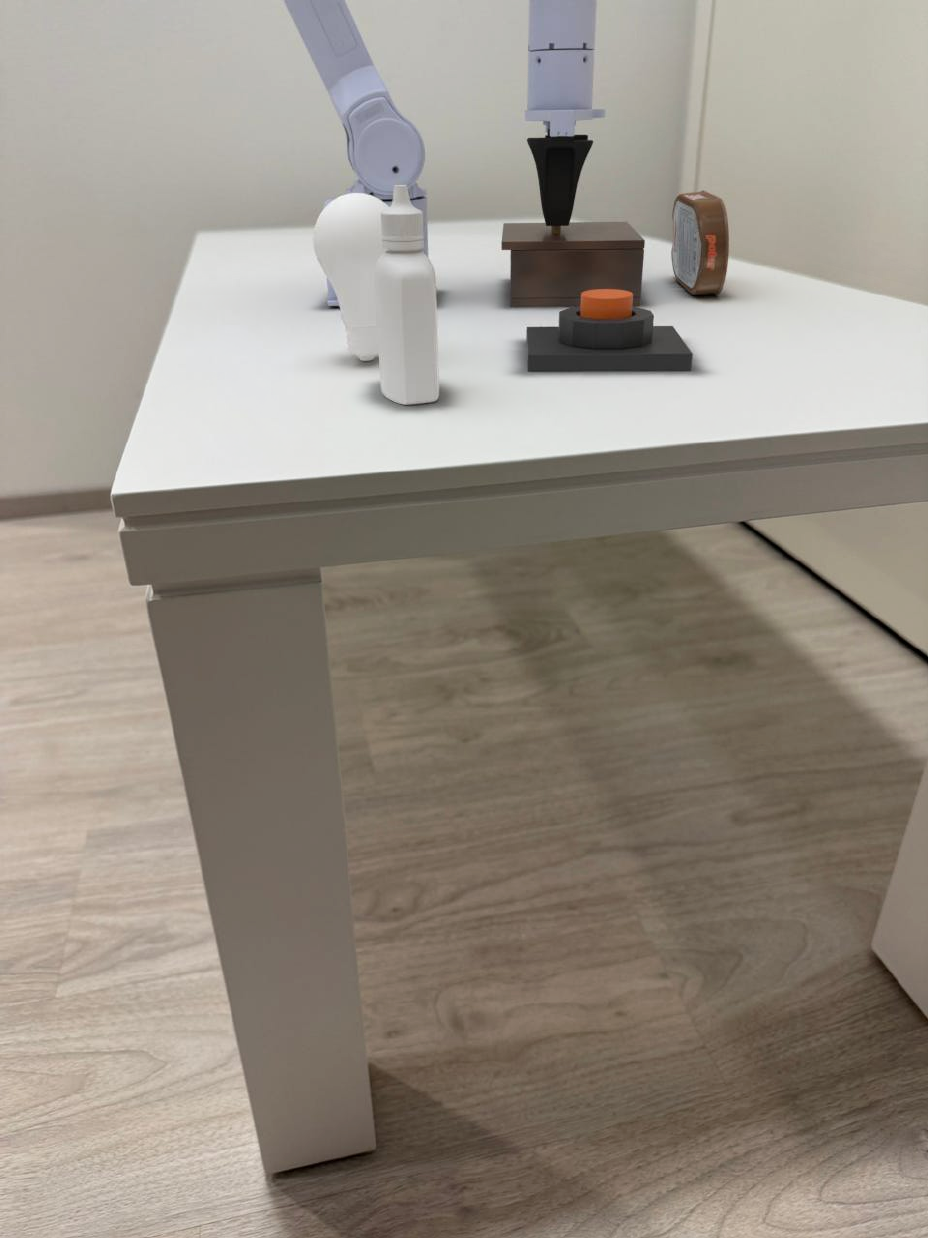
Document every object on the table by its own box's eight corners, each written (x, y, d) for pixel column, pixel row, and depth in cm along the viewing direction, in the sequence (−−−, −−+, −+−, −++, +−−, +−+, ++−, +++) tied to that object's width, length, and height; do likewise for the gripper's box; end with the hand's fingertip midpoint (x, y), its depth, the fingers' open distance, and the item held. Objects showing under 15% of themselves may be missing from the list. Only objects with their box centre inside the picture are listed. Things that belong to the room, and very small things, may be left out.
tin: (726, 301, 84) (738, 200, 80) (691, 302, 84) (701, 200, 80) (693, 275, 97) (702, 186, 93) (663, 275, 97) (671, 187, 93)
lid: (501, 250, 81) (501, 190, 79) (503, 230, 94) (503, 179, 91) (644, 248, 80) (648, 188, 78) (626, 228, 93) (630, 177, 91)
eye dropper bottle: (452, 384, 61) (448, 181, 55) (433, 408, 56) (426, 189, 50) (388, 381, 61) (377, 181, 56) (363, 405, 56) (349, 189, 51)
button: (581, 324, 64) (582, 298, 63) (578, 314, 67) (579, 288, 66) (634, 324, 64) (635, 297, 63) (628, 313, 67) (630, 288, 66)
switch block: (527, 372, 63) (528, 326, 61) (526, 342, 71) (526, 301, 69) (691, 371, 62) (695, 325, 61) (671, 341, 70) (675, 300, 69)
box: (510, 307, 83) (510, 250, 81) (510, 280, 96) (511, 230, 94) (640, 306, 83) (644, 249, 80) (623, 279, 95) (626, 229, 93)
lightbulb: (342, 375, 63) (327, 198, 58) (312, 357, 68) (296, 192, 62) (423, 363, 65) (416, 192, 60) (389, 347, 70) (380, 187, 65)
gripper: (615, 45, 73) (605, 230, 80) (601, 54, 86) (593, 213, 92) (526, 47, 74) (523, 231, 80) (524, 56, 86) (522, 214, 93)
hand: (556, 222), depth 86 cm, fingers closed on lid, 5 cm apart
